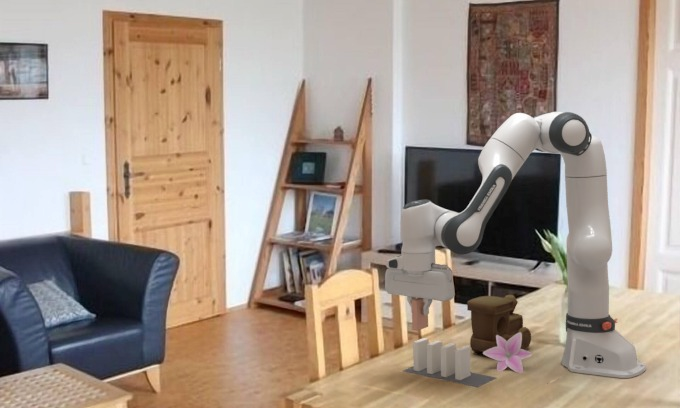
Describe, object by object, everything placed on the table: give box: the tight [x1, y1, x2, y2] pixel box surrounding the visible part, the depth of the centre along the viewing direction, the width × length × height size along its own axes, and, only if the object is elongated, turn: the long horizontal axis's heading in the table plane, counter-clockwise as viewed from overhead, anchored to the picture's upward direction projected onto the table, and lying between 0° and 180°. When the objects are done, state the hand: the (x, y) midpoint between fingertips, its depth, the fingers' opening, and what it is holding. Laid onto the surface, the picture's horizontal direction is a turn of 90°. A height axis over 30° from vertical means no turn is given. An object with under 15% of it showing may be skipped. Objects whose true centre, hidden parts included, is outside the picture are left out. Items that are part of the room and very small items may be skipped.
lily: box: [482, 332, 533, 373], centre depth 254 cm, size 12×12×10 cm
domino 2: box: [412, 337, 430, 371], centre depth 255 cm, size 2×5×8 cm, turn 140°
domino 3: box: [427, 339, 443, 374], centre depth 252 cm, size 2×5×8 cm, turn 140°
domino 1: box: [411, 297, 429, 331], centre depth 244 cm, size 2×5×8 cm, turn 140°
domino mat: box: [402, 365, 497, 388], centre depth 249 cm, size 24×10×1 cm, turn 50°
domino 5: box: [455, 345, 472, 380], centre depth 246 cm, size 2×5×8 cm, turn 140°
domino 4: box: [441, 342, 457, 377], centre depth 249 cm, size 2×5×8 cm, turn 140°
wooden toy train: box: [466, 294, 532, 354], centre depth 271 cm, size 20×11×17 cm, turn 138°
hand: (420, 313), depth 244 cm, fingers closed on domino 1, 2 cm apart
